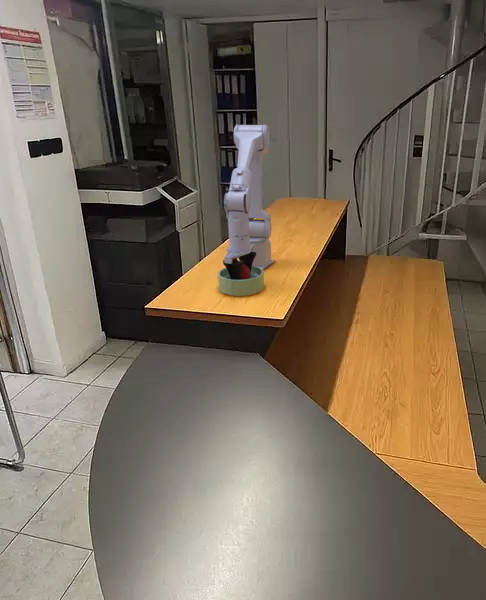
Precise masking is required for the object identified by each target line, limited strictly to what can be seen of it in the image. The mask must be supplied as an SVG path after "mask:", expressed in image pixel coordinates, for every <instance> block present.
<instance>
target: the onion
mask: <svg viewBox="0 0 486 600" xmlns="http://www.w3.org/2000/svg"><path fill="white" fill-rule="evenodd" d="M240 262H243V261H241V260H240ZM250 278H251V273H250V270H249V268H248V267H247V266H246V265H244V264H243V265H242V268H241V274H240V280H246V279H250Z"/></svg>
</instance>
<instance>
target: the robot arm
mask: <svg viewBox="0 0 486 600" xmlns="http://www.w3.org/2000/svg"><path fill="white" fill-rule="evenodd" d="M233 143H234V145H235V147H236V149H237V150H238V153H237V155H238V156H237V167H236V168H234V169H233V170H232V172H231V177H230V182H229V188H228V192H225V194H224V198H223V206H224V212H225V218H226V219H227V227H228V245H229V247H227V248H226V249H225V251H226V252H227V253H226V254H225V255H224V256H223V260H222V264H223V266H224V268H227V270H228V272H229V275H230V278H231V279H232V280H240V274H241V268H242V265H243V264H244V265H246V266H247V267H248V268H249V270H250V273H251V268H252V266H256V267H259V268H261V269H263V270H264V269H266V268H268V267H269V266H271V264H273V263H274V262H275V261H274V260H273V259H272V242H271V240H270V238H271V236H272V229H273V228H272V227H273V226H272V217H271V215H270V214H269V212H267V211H266V210H265V209H264V208H263V160H264V156H265V155H267V154H269V151H270V129H269V126H268V125H267V124H235V126H234V127H233ZM240 260H241V261H243V262H240Z"/></svg>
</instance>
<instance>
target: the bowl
mask: <svg viewBox="0 0 486 600" xmlns="http://www.w3.org/2000/svg"><path fill="white" fill-rule="evenodd" d="M217 283H218V290H219V291H220V292H221V293H223V294H225V295H228V296H229V295H230V296H233V297H234V296H235V297H244V296H252V295H254V294H258V293H260V292H261V291H263V290H264V288H265V270H264V269H261V268H259V267H256V266H252V268H251V278H250V279H246V280H232V279H231V278H230V275H229V272H228V270H227V268H226V267H223V268H221V269H219V271H217Z"/></svg>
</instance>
